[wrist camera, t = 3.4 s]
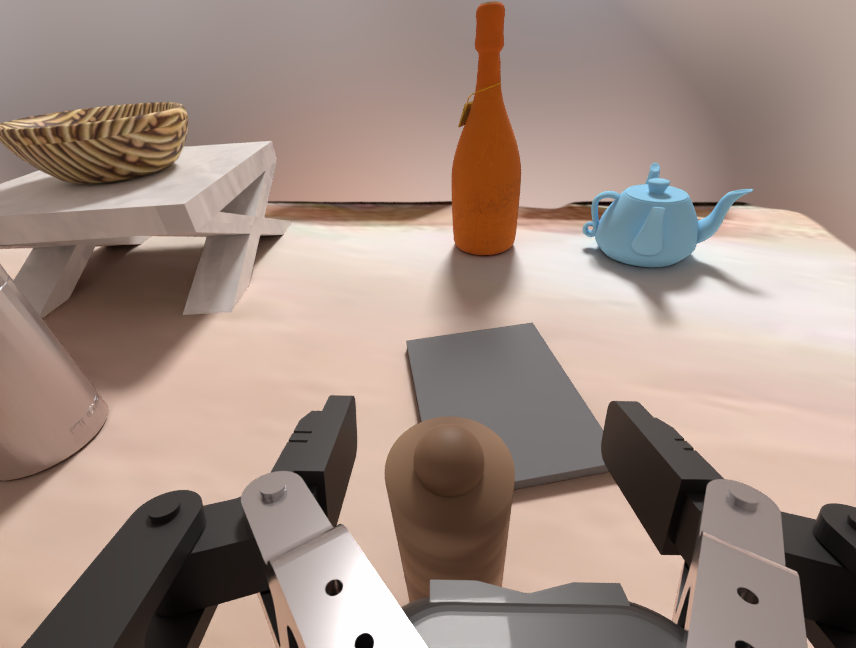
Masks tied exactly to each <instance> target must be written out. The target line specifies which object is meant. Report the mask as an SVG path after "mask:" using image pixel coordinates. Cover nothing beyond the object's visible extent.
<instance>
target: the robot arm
mask: <svg viewBox="0 0 856 648" xmlns="http://www.w3.org/2000/svg"><path fill="white" fill-rule="evenodd" d="M107 415H108V407H107V404H106V403H105V402H104V400H103V399H102V398H101V396H100V395H99V394H98V392H97V391H96V390H95V388H94V387H93V386H92V384H91V383H90V382H89V380H88V379H87V378H86V376H85V375H84V373H83V372H82V371H81V369H80V368H79V367H78V365H77V364H76V363H75V362H74V360H73V359H72V358H71V356H70V355H69V354H68V352H67V351H66V350H65V348H64V347H63V346H62V344H61V343H60V342H59V340H58V339H57V338H56V337H55V335H54V334H53V333H52V331H51V330H50V329H49V327H48V326H47V325H46V323H45V322H44V321H43V319H42V318H41V317H40V315H39V314H38V313H37V312H36V310H35V309H34V308H33V306H32V305H31V304H30V302H29V301H28V300H27V298H26V297H25V296H24V294H23V293H22V292H21V290H20V289H19V288H18V287H17V285H16V284H15V283H14V281H13V280H12V279H11V277H10V276H9V275H8V274H7V272H6V271H5V270H4V268H3V267H2V266H1V264H0V480H12V479H19V478H22V477H26V476H29V475H33V474H35V473H38V472H40V471H43V470H45V469H47V468H50V467H51V466H53V465H55V464H57V463H59V462H61V461H63V460H64V459H66V458H68V457H69V456H71V455H72V454H74V453H75V452H77V451H78V450H79V449H80V448H82V447H83V446H84V445H86V444H87V443H88V442H89V441H90V440H91V439H92V438H93V437H94V436H95V435H96V434H97V433H98V431H99V430H100V429H101V427H102V426H103V424H104V423H105V421H106V419H107ZM356 451H357V425H356V406H355V398H354V396H334V395H331V396H329V398H328V400H327V402H326V404H325V406H324V408H323V410H322V411H311V412H310V413H309V414H307V415H306V416H305V417H303V418H302V419H301V420H300V421H299V423H298V425H297V426H296V428H295V430H294V433H292V435H291V437H290V439H289V442H287V444H286V446H285V448H284V449H283V451H282V453H281V455H280V457H279V458H278V460H277V462H276V464H275V465H274V467H273V469H272V471H271V473H268V474H265V475H263V476H260V477H259V478H257V479H255V480H254V481H252V482H251V483H250V484H249V485H248V486H247V487H246V488H245V489H244V491H243V493H242V496H241V497H239V498H236V499H232V500H228V501H223V502H219V503H214V504H209V505H205V506H203V503H202V499H201V497H200V496H199V494H197V493H196V492H193V491H189V490H177V491H172V492H168V493H165V494H162V495H159V496H157V497H155V498H153V499H151V500H149V501H148V502H146V503H145V504H143V505H142V506H140V507H139V508H138V509H137V510H136V511H135V512H134V513H133V514H132V515H131V516H130V518H129V519H128V520H127V521H126V522H125V524H124V525H123V526H122V527H121V528H120V530H119V531H118V532H117V533H116V534H115V536H114V537H113V538H112V539H111V540H110V542H109V543H108V544H107V545H106V546H105V548H104V549H103V550H102V551H101V552H100V554H99V555H98V556H97V557H96V558H95V560H94V561H93V562H92V563H91V564H90V566H89V567H88V568H87V569H86V570H85V572H84V573H83V574H82V575H81V577H80V578H79V579H78V580H77V581H76V583H75V584H74V585H73V586H72V587H71V589H70V590H69V591H68V592H67V593H66V595H65V596H64V597H63V598H62V599H61V601H60V602H59V603H58V604H57V605H56V607H55V608H54V609H53V610H52V611H51V613H50V614H49V615H48V616H47V617H46V619H45V620H44V621H43V622H42V623H41V625H40V626H39V627H38V628H37V629H36V631H35V632H34V633H33V634H32V635H31V637H30V638H29V639H28V640H27V641H26V643H25V644H24V645H23V646H22V647H21V648H199V646H200V644H201V641H202V639H203V637H204V635H205V632H206V630H207V628H208V626H209V624H210V621H211V619H212V617H213V615H214V612H215V610H216V608H217V606H218V604H221V603H224V602H228V601H231V600H235V599H238V598H242V597H245V596H249V595H252V594H255V593H257V594H258V597H259V600H260V603H261V606H262V609H263V611H264V614H265V617H266V620H267V623H268V626H269V628H270V631H271V634H272V637H273V640H274V643H275V646H276V648H808V647H807V638H808V640H809V641H810V642H811V644H812V645H813V646H814V647H815V648H856V508H855V507H852V506H848V505H843V504H826V505H824V506H823V507H822V508H821V510H820V512H819V515H818V517H817V519H816V520H815V519H811V518H806V517H802V516H798V515H793V514H789V513H785V512H780V510H779V508H778V506H777V505H776V504H775V503H774V502H773V501H772V500H771V499H770V498H769V497H767V496H766V495H765V494H763V493H762V492H760V491H758V490H756V489H755V488H752V487H750V486H748V485H746V484H743V483H740V482H737V481H732V480H727V479H724V478H723V477H722V476H721V475H720V474H719V473H718V472H717V471H716V470H715V469H714V468H713V467H712V466H711V465H710V464H709V463H708V462H707V461H706V460H705V459H704V458H703V457H702V456H701V455H700V454H699V453H698V452H697V451H694V450H693V447H692V446H691V445H690V444H689V443H688V442H687V441H684V438H683V437H682V436H681V435H680V434H679V433H678V432H677V431H676V430H675V429H674V428H673V427H671V426H669V425H668V424H666V423H664V422H663V421H661V420H659V419H658V418H654V417H653V416H652V415H651V414H650V413H649V412H648V411H647V410H646V409H645V408H644V407H643V406H642V405H641V404H640V403H639V402H636V401H612V402H610V404H609V406H608V409H607V415H606V420H605V425H604V431H603V436H602V441H601V454H602V459H603V461H604V464H605V466H606V467H607V469H608V470H609V472H610V474H611V475H612V477H613V478H614V480H615V482H616V483H617V485H618V486H619V488H620V490H621V491H622V493H623V495H624V496H625V498H626V499H627V501H628V503H629V504H630V506H631V507H632V509H633V511H634V512H635V514H636V515H637V517H638V519H639V520H640V522H641V524H642V525H643V527H644V528H645V530H646V532H647V533H648V535H649V536H650V538H651V540H652V541H653V543H654V544H655V546H656V548H657V549H658V551H659V553H660V554H661V555H681V556H682V557H683V559H684V563H683V567H682V570H681V575H680V580H679V585H678V590H677V596H676V601H675V606H674V612H673V617H672V621H671V620H669V619H668V618H666V617H664V616H662V615H661V614H659V613H657V612H655V611H653V610H650V609H648V608H646V607H643V606H641V605H638V604H635V603H632V602H629V601H628V599H627V597H626V595H625V593H624V591H623V589H622V587H621V584H620V583H577V582H573V583H569V584H565V585H561V586H557V587H553V588H550V589H546V590H542V591H538V592H534V593H522V592H518V591H514V590H511V589H507V588H503V587H499V586H495V585H492V584H488V583H484V582H480V581H474V580H430V596H429V597H425V598H421V599H418V600H416V601H413V602H411V603H409V604H407V605H405V606H403V607H402V608H400V607H399V605H398V604H397V602H396V601H395V599H394V598H393V596H392V595H391V593H390V592H389V590H388V589H387V587H386V586H385V584H384V583H383V581H382V580H381V578H380V577H379V575H378V574H377V572H376V571H375V569H374V568H373V566H372V565H371V563H370V562H369V560H368V559H367V558H366V556H365V555H364V553H363V552H362V550H361V549H360V547H359V546H358V544H357V543H356V541H355V540H354V538H353V537H352V535H351V534H350V532H349V531H348V529H347V528H346V527H345V526H344V525H343V524H339V525H337V522H338V518H339V515H340V511H341V508H342V504H343V501H344V497H345V494H346V490H347V486H348V483H349V479H350V476H351V472H352V469H353V465H354V461H355V458H356ZM806 637H807V638H806Z"/></svg>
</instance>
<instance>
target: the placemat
mask: <svg viewBox="0 0 856 648" xmlns="http://www.w3.org/2000/svg"><path fill="white" fill-rule="evenodd" d="M406 342H407V350H408V355H409V360H410V366H411V371H412V376H413V382H414V387H415V392H416V397H417V403H418V408H419V413H420V418H421V422H423V421H425V420H428V419H432V418H437V417H445V416H454V417H462V418H467V419H471V420H474V421H476V422H479V423H481V424H483V425H485V426H486V427H488V428H490V429H491V430H492V431H494V432H495V433H496V434H497V435H498V436H499V437H500V438H501V439H502V440H503V442H504V443H505V444H506V446H507V447H508V449H509V451H510V453H511V456H512V459H513V462H514V468H515V481H514V489H519V488H524V487H530V486H535V485H540V484H546V483H551V482H557V481H562V480H567V479H573V478H578V477H584V476H589V475H594V474H600V473H605V472H609V470H608V469H607V467H606V466H605V464H604V461H603V459H602V454H601V441H602V436H603V429H602V428H601V426H600V425H599V423H598V422H597V420H596V419H595V417H594V416H593V414H592V413H591V411H590V409H589V408H588V406H587V405H586V403H585V402H584V400H583V399H582V397H581V396H580V394H579V393H578V391H577V390H576V388H575V387H574V385H573V384H572V382H571V381H570V379H569V377H568V376H567V374H566V373H565V371H564V370H563V368H562V367H561V365H560V364H559V362H558V361H557V359H556V358H555V356H554V355H553V353H552V352H551V350H550V349H549V347H548V345H547V344H546V342H545V341H544V339H543V338H542V336H541V335H540V333H539V332H538V330H537V329H536V327H535V326H534V324H533V323H527V324H520V325H513V326H506V327H499V328H492V329H485V330H478V331H471V332H464V333H457V334H450V335H443V336H436V337H429V338H423V339H416V340H409V341H406Z"/></svg>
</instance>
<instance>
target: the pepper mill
mask: <svg viewBox="0 0 856 648" xmlns="http://www.w3.org/2000/svg"><path fill="white" fill-rule="evenodd" d="M514 481H515V468H514V462H513V459H512V456H511V453H510V451H509V449H508V447H507V446H506V444H505V443H504V442H503V440H502V439H501V438H500V437H499V436H498V435H497V434H496V433H495V432H494V431H492V430H491V429H490V428H488V427H486V426H485V425H483V424H481V423H479V422H476V421H474V420H471V419H467V418H462V417H454V416H445V417H437V418H432V419H428V420H425V421H423V422H420V423H418V424H416V425H414V426H413V427H411V428H409V429H408V430H407V431H405V432H404V433H403V434H402V435H401V436H400V437H399V438H398V439H397V441H396V442H395V443H394V445H393V446H392V448H391V450H390V452H389V454H388V457H387V460H386V465H385V482H386V488H387V492H388V497H389V502H390V507H391V512H392V517H393V522H394V527H395V532H396V536H397V541H398V546H399V551H400V556H401V561H402V566H403V571H404V576H405V581H406V585H407V590H408V595H409V600H410V603H411V602H413V601H416V600H418V599H421V598H425V597H429V596H430V580H474V581H480V582H484V583H488V584H492V585H495V586H499V587H502V580H503V571H504V563H505V555H506V547H507V538H508V530H509V522H510V514H511V505H512V497H513V489H514Z"/></svg>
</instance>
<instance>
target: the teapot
mask: <svg viewBox="0 0 856 648" xmlns="http://www.w3.org/2000/svg"><path fill="white" fill-rule="evenodd" d="M659 173H660V167H659V164H657V163H653V164H652V165H651V167H650V171H649V175H648V178H647V181H646V183H645V184H644V185H635V186H631V187H629V188H627V189H625V190H624V191H623V192H622V193H621V194H618V193H617V192H614V191H606V192H602V193H600V194H598V195H597V196H596V197H595V198H594V200H593V202H592V208H591V211H592V221H593V222H587V223H585V225H584V226H583V233H584V234H585V235H586V236H588V237H594V236H595V239H596V242H597V244H598V245H599V247H600V248H601V250H602V251H603V252H604V253H605V254H606V255H607V256H608V257H610V258H612V259H614V260H616V261H619V262H622V263H625V264H629V265H634V266H640V267H664V266H669V265H673V264H675V263H677V262H679V261H681V260H683V259H684V258H686V257H687V256H689V255H690V254H691V253H692V252H693V251H694V250H695V247H696V244H697V243H700V242H702V241H705V240H707V239H708V238H710V237H711V236H712V235H713V234H714V233H715V232H716V231H717V230H718V228H719V227H720V225H721V223H722V222H723V219H724V217H725V215H726V213H727V211H728V210H729V208H730V206H731V205H732V204H733V203H734V202H735V201H736V200H737V199H738V198H740V197H741V196H743V195H745V194H747V193H749V192H751V191H753V189H742V190H735V191H732V192H729V193H727V194H726V195H725V196H724V197H722V198H721V200H720V201H719V202H718V204H717V205H716V207H715V208H714V210H713V211H712V212H711V214H710V215H709V216H707V217H706V218H704V219H702V220H699V221H698V220H697V216H696V212H695V209H694V206H693V204H692V201H691V199H690V197H689V195H688V194H687V193H686V192H685V191H683V190H681V189H678V188H675V187H671V186H669V184H670V181H669V180H666V179H662V178H659ZM603 198H613V199H615V200H614V201H613V202H612V204H611V205H610V206H609V207H608V208H607V210H606V211H605V212H604V214H603V215H602V217H601V219H600V221H599V219H598V203H599V201H600V200H601V199H603ZM588 226H593V230H592V231H590V230H589V229H588Z"/></svg>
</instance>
